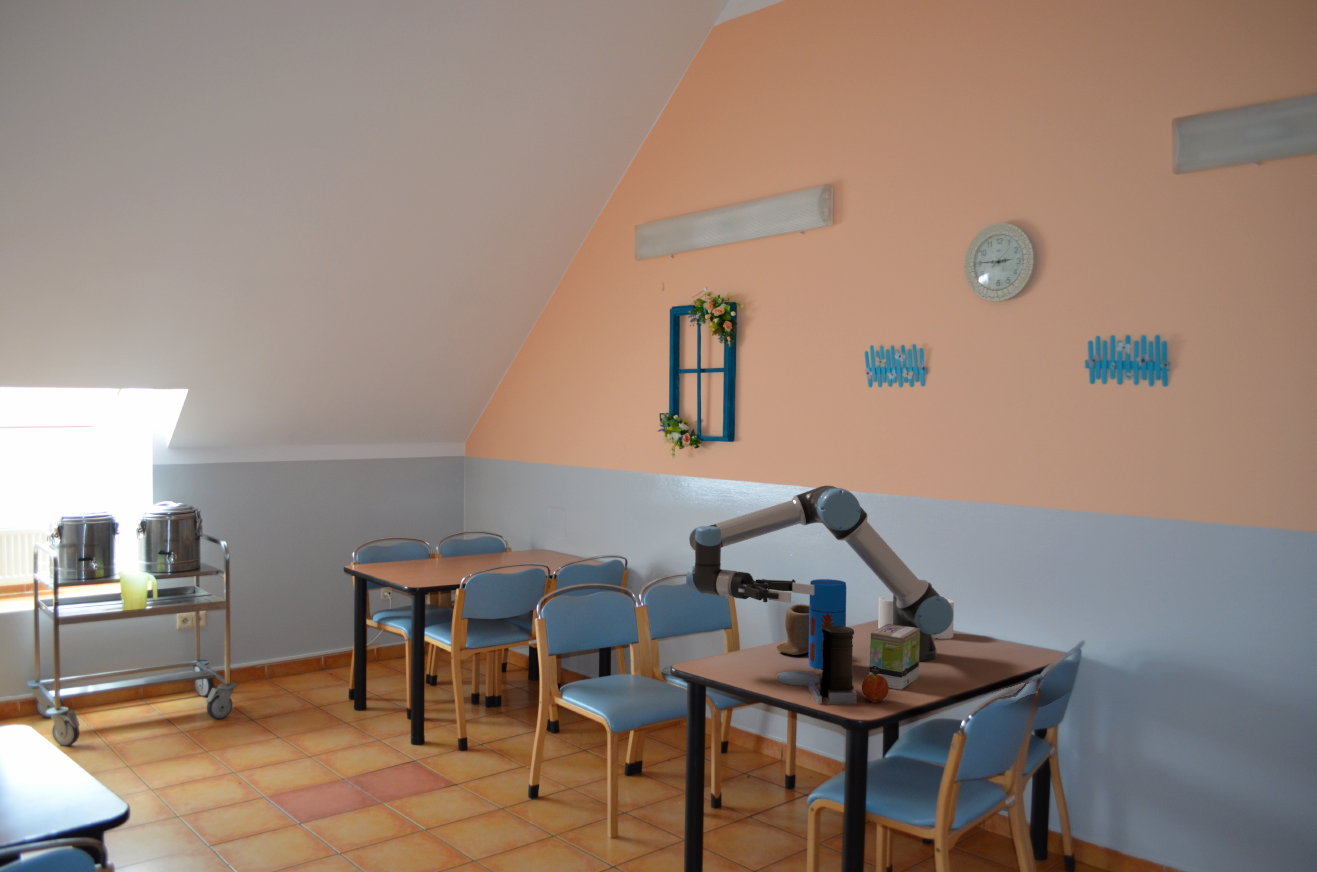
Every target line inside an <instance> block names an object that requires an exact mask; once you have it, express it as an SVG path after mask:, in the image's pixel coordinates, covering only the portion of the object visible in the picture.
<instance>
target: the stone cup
mask: <svg viewBox="0 0 1317 872" xmlns="http://www.w3.org/2000/svg"><path fill="white" fill-rule="evenodd" d="M784 624H785V625H784V626H785V630H786V634H787V641H786V642H783V643H780V644H778V645H776V646H775V647H776V650H777V651H779V652H780V653H783V654H787V655H792V656H799V655H804V654H809V604H802V603H800V604H799V603H798V604H797V603H796V604H794V605H792V606H790V607H788V608H787V610H786V612H785V621H784Z"/></svg>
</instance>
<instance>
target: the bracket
mask: <svg viewBox="0 0 1317 872" xmlns="http://www.w3.org/2000/svg"><path fill="white" fill-rule="evenodd" d="M944 598H945V599H947V600H948V602H949V603H950V604H951V606H952V608H953V620H952V623H951V625H950V626H949V628H948V629H947V630H945V631H944V632H942V633H940V634H937V635H932V636H933V639H935V638H938V639H937V640H948V639H952V638H954V619H955V615H954V612H955V609H954V607H955V606H954V605H955V601H954V600H952V599H950V598H948V597H944ZM877 616H878V617H877V618H878V620H877V621H878V623H877V626H878V628H877V629H879V628H881V627H883V626H885V625H887V624H893V600H888V599H884V596H879V597H878V615H877Z"/></svg>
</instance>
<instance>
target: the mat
mask: <svg viewBox="0 0 1317 872" xmlns="http://www.w3.org/2000/svg"><path fill="white" fill-rule="evenodd" d="M776 680H777V682H779V683H783V684H785V685H790V686H803V687H805V686H808V680H812V681H813V683H814V685H816V684H819V676H818V675H816V674H814V673H812V672H811V673H810V672H806V671H792V670H791V671H784V672H780V673H778V674H777V675H776Z"/></svg>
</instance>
